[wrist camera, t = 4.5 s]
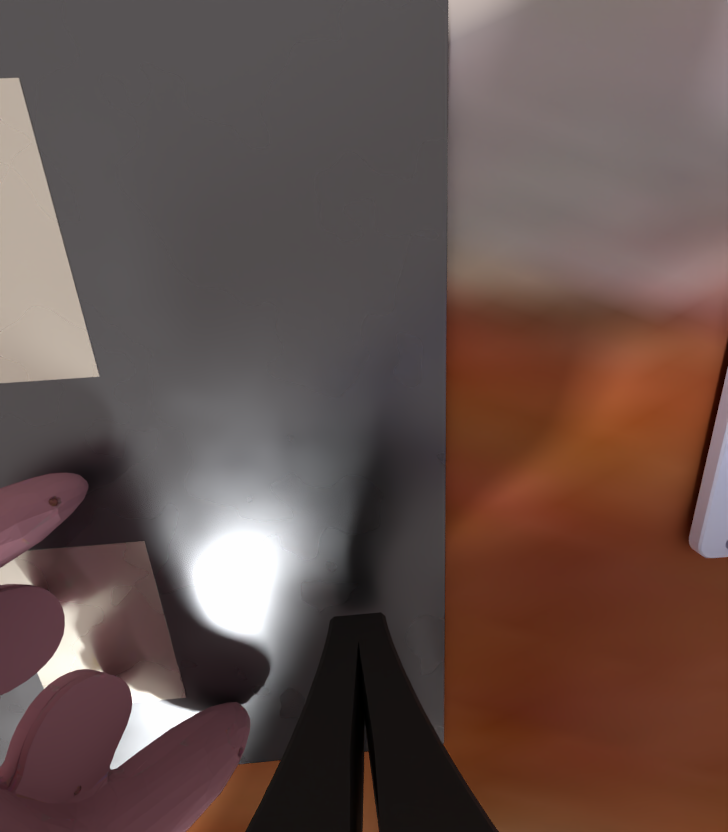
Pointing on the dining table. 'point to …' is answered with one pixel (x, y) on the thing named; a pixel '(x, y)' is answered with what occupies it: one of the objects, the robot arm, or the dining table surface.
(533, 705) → the dining table surface
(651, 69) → the dining table surface
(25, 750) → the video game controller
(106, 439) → the panel
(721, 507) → the robot arm
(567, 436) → the dining table surface
